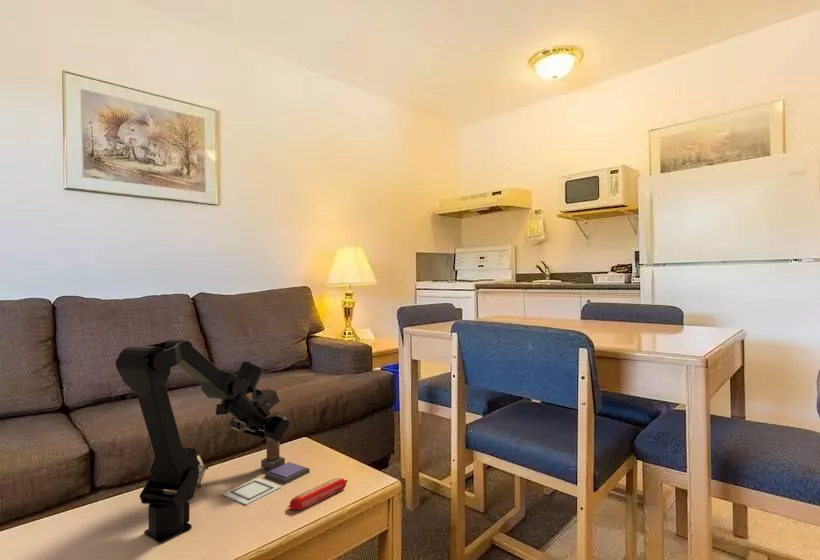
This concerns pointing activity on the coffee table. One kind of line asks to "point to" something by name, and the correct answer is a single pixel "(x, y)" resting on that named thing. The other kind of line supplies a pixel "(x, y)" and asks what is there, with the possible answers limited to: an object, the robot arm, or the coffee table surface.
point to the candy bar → (317, 494)
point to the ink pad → (287, 472)
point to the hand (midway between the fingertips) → (277, 438)
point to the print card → (251, 491)
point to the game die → (200, 469)
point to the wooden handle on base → (272, 456)
